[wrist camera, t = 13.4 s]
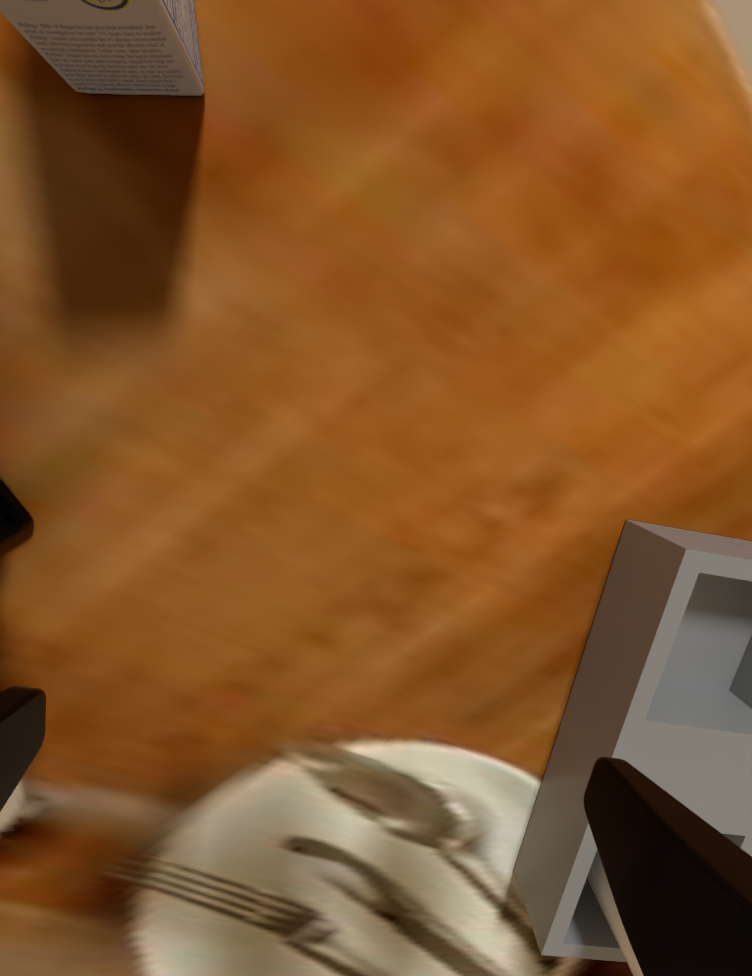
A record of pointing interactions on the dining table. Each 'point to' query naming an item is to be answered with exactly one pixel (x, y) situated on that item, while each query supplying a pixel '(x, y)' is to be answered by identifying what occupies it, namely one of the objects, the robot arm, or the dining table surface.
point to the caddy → (647, 718)
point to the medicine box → (115, 43)
